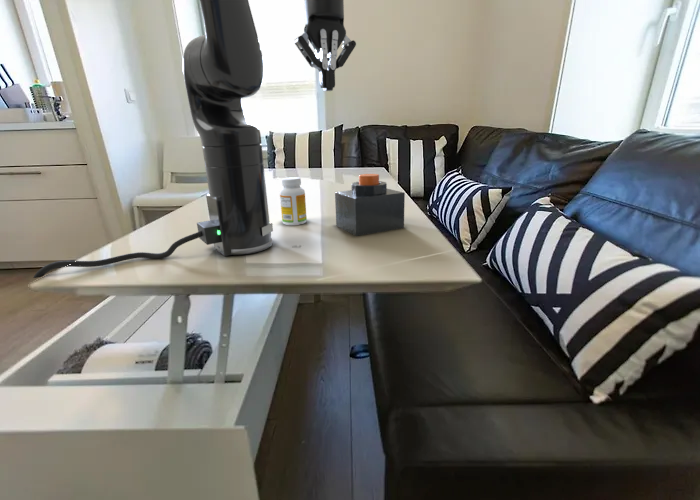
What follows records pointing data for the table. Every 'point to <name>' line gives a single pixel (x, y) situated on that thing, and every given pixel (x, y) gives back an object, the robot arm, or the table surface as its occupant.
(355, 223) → the push button base
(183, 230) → the table surface
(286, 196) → the supplement bottle
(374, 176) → the orange push button
